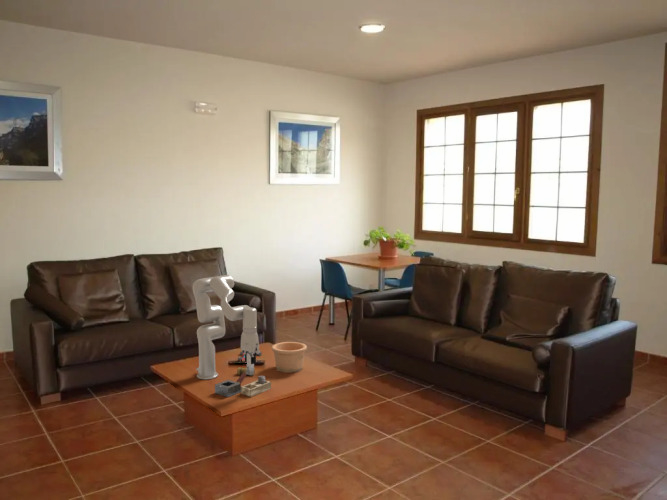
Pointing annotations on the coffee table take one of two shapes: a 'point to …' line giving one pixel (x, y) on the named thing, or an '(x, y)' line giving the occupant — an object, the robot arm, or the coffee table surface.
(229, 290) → the robot arm
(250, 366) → the silver metal cylinder
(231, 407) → the coffee table surface
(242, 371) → the gavel
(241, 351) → the race car
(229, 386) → the socket
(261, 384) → the rack
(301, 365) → the pottery
